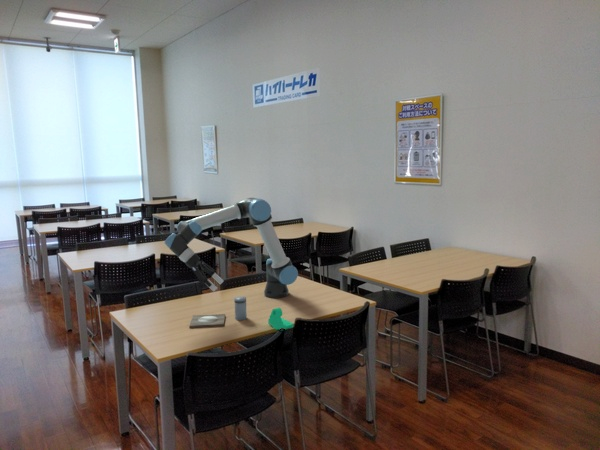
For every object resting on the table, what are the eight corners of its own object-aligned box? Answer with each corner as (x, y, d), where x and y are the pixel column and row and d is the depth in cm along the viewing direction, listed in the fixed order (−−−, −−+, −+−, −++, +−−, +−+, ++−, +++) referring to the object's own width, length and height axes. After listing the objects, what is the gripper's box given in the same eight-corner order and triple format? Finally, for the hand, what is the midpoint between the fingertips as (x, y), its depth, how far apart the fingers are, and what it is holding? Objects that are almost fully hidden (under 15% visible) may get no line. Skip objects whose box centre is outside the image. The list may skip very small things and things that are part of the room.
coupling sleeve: (235, 316, 246) (234, 296, 244) (246, 316, 246) (246, 296, 245) (234, 320, 240) (234, 300, 238) (246, 320, 240) (246, 299, 239)
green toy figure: (294, 329, 227) (293, 309, 226) (281, 332, 223) (280, 312, 221) (281, 322, 237) (280, 303, 235) (268, 325, 233) (267, 305, 231)
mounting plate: (193, 317, 245) (193, 315, 245) (225, 316, 246) (225, 313, 246) (189, 328, 230) (189, 325, 230) (223, 326, 232) (223, 323, 231)
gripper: (192, 257, 253) (219, 284, 254) (177, 268, 228) (207, 298, 229) (201, 248, 252) (229, 275, 253) (187, 258, 227) (217, 288, 228)
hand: (219, 286), depth 241 cm, fingers open, 13 cm apart
